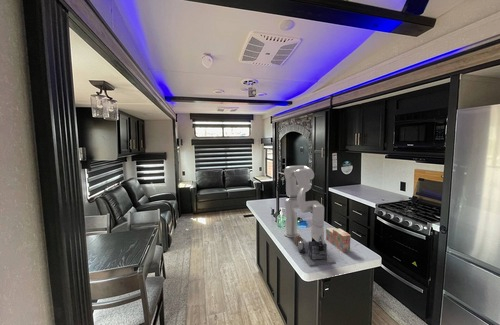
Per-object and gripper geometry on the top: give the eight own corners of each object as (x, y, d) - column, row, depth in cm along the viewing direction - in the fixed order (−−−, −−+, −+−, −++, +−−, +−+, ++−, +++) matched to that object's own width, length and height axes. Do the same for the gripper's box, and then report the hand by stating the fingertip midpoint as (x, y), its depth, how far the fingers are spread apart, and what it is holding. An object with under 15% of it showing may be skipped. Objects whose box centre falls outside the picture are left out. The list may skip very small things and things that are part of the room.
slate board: (301, 255, 151) (301, 254, 151) (325, 252, 154) (325, 251, 154) (309, 266, 138) (309, 264, 138) (335, 262, 142) (335, 261, 141)
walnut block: (294, 243, 170) (294, 237, 170) (300, 242, 171) (300, 236, 171) (296, 246, 165) (296, 240, 165) (303, 245, 166) (303, 239, 166)
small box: (323, 254, 150) (323, 239, 149) (327, 259, 144) (327, 244, 143) (308, 255, 150) (308, 240, 149) (311, 260, 143) (311, 245, 142)
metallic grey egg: (297, 251, 158) (296, 242, 157) (301, 248, 160) (301, 239, 160) (302, 254, 154) (301, 244, 153) (307, 251, 156) (306, 242, 156)
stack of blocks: (325, 239, 175) (325, 224, 174) (332, 238, 177) (332, 223, 176) (342, 252, 155) (342, 235, 153) (350, 251, 156) (350, 234, 155)
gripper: (306, 218, 152) (306, 241, 154) (318, 228, 135) (318, 254, 137) (316, 217, 153) (316, 240, 155) (330, 227, 136) (329, 253, 138)
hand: (317, 247), depth 146 cm, fingers open, 9 cm apart
